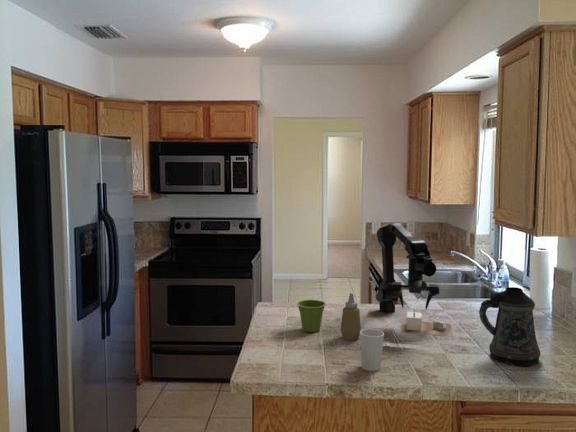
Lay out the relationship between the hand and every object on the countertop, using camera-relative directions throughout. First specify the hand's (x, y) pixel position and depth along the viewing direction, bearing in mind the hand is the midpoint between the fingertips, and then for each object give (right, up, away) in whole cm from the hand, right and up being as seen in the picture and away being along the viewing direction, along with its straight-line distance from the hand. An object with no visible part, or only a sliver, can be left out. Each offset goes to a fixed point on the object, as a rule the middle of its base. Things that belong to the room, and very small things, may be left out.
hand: (414, 308), depth 205 cm
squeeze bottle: (-27, -10, -9) cm, 30 cm away
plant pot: (-42, -9, +1) cm, 43 cm away
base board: (+5, -9, 0) cm, 11 cm away
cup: (-24, -13, -36) cm, 45 cm away
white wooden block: (+10, -8, -2) cm, 13 cm away
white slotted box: (0, -8, +1) cm, 8 cm away
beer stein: (+27, -13, -28) cm, 41 cm away
